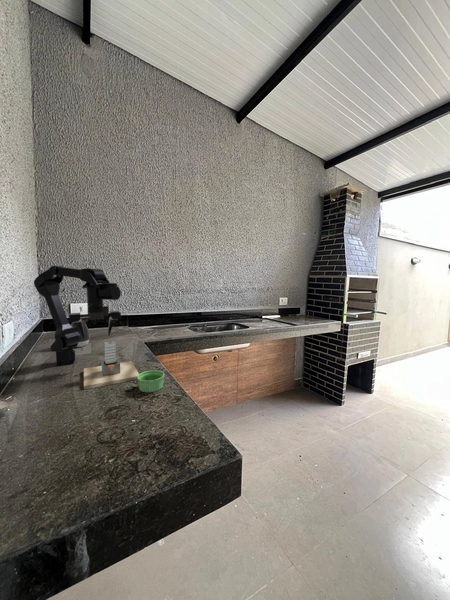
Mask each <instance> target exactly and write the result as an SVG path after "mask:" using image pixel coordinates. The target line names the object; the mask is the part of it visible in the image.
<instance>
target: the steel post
mask: <svg viewBox="0 0 450 600" xmlns="http://www.w3.org/2000/svg"><path fill="white" fill-rule="evenodd" d="M103 344H104V345H103V346H104V347H103V348H104V361H105V363H106V364H108V363H114V362H116V359H117V350H116V348H117V347H116V345H117V344H116V341H115V340H114V341H113V340H112V341H104V343H103Z"/></svg>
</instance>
